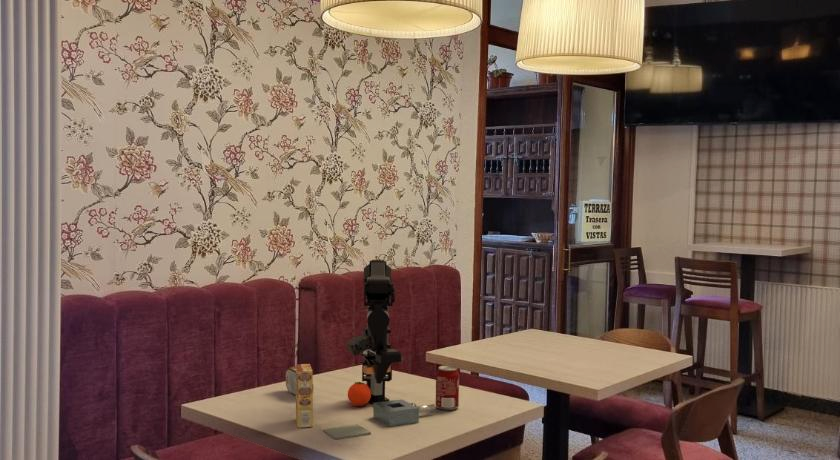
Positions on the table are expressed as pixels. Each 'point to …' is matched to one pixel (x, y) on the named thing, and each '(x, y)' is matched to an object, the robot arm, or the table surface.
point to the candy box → (304, 395)
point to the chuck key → (374, 379)
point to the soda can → (447, 388)
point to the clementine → (359, 394)
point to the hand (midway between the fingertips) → (376, 382)
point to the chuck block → (399, 412)
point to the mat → (346, 431)
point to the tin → (291, 380)
